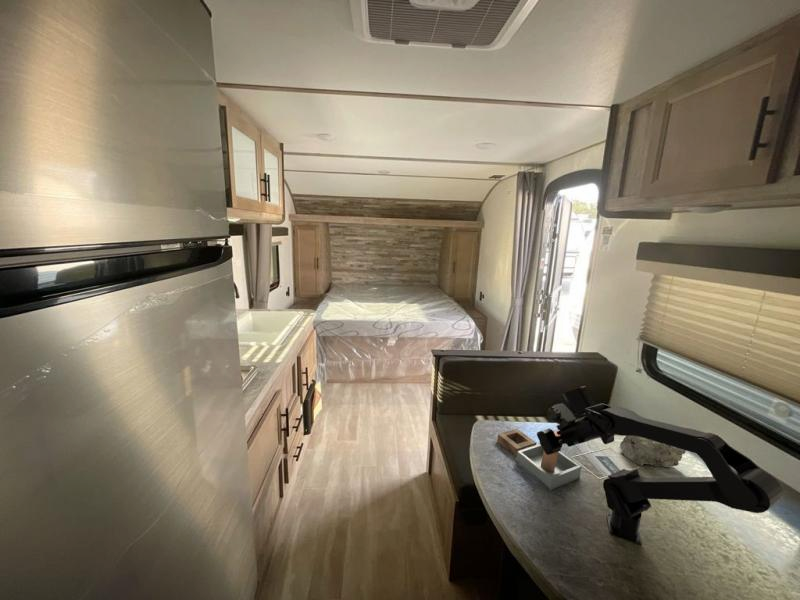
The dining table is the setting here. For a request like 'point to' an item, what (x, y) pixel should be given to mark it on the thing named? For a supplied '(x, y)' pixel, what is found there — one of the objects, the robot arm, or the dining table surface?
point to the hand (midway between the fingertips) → (546, 442)
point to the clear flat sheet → (599, 450)
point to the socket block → (515, 434)
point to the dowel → (549, 460)
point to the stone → (650, 452)
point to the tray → (562, 474)
